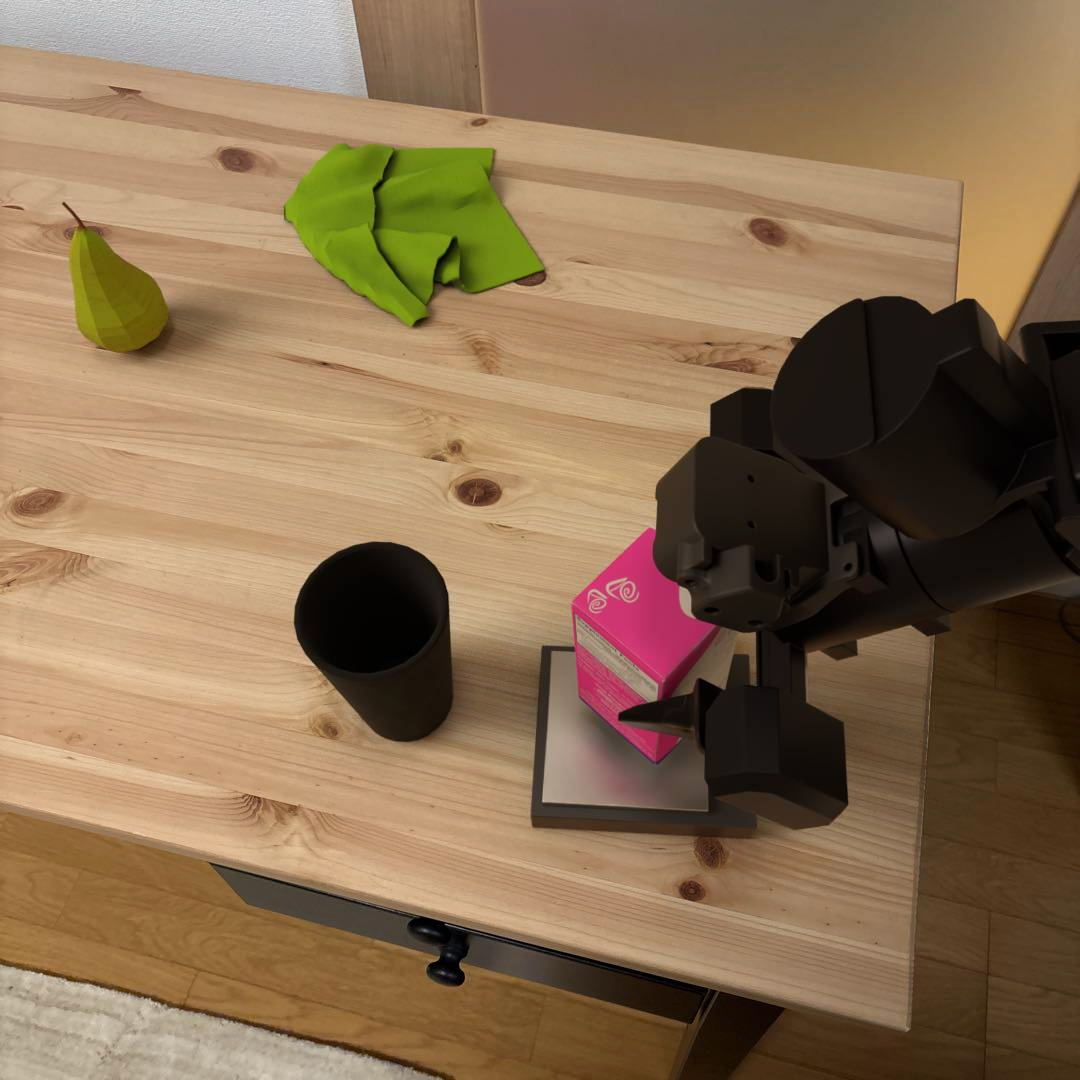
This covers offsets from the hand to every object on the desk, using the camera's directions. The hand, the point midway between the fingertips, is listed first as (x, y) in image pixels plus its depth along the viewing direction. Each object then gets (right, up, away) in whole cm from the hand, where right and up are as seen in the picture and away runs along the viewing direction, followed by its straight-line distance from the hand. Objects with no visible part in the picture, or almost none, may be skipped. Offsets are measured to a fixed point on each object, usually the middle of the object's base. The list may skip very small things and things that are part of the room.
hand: (628, 640), depth 48 cm
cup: (-12, -5, +12) cm, 17 cm away
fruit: (-34, +20, +27) cm, 48 cm away
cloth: (-14, +29, +31) cm, 45 cm away
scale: (+2, -7, +9) cm, 12 cm away
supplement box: (+2, -4, +6) cm, 7 cm away
